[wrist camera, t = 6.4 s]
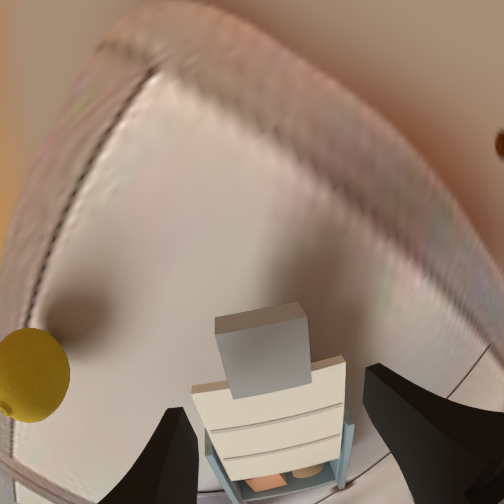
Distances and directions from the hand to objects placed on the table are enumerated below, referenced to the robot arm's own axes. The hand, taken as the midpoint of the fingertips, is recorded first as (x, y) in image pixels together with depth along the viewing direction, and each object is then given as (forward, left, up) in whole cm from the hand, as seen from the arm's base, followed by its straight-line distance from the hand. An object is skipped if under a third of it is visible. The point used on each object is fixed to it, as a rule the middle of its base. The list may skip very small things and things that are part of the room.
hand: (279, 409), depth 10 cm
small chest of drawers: (-5, 0, -5) cm, 7 cm away
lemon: (0, +15, -8) cm, 17 cm away
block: (-16, +2, -8) cm, 18 cm away
